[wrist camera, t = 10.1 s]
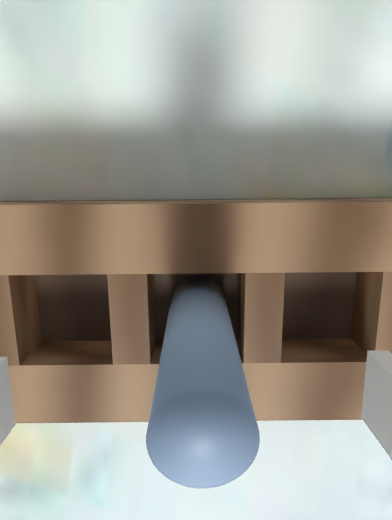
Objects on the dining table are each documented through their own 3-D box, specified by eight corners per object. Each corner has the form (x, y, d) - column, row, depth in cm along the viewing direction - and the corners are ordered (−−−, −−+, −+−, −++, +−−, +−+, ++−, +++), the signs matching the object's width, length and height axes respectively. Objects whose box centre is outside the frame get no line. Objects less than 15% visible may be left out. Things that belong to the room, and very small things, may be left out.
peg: (171, 325, 22) (147, 488, 11) (170, 274, 22) (144, 390, 10) (224, 325, 22) (257, 487, 11) (224, 274, 22) (261, 390, 10)
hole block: (-5, 389, 24) (-37, 423, 20) (-32, 201, 21) (-73, 206, 18) (397, 385, 24) (430, 418, 21) (420, 197, 21) (462, 201, 18)
